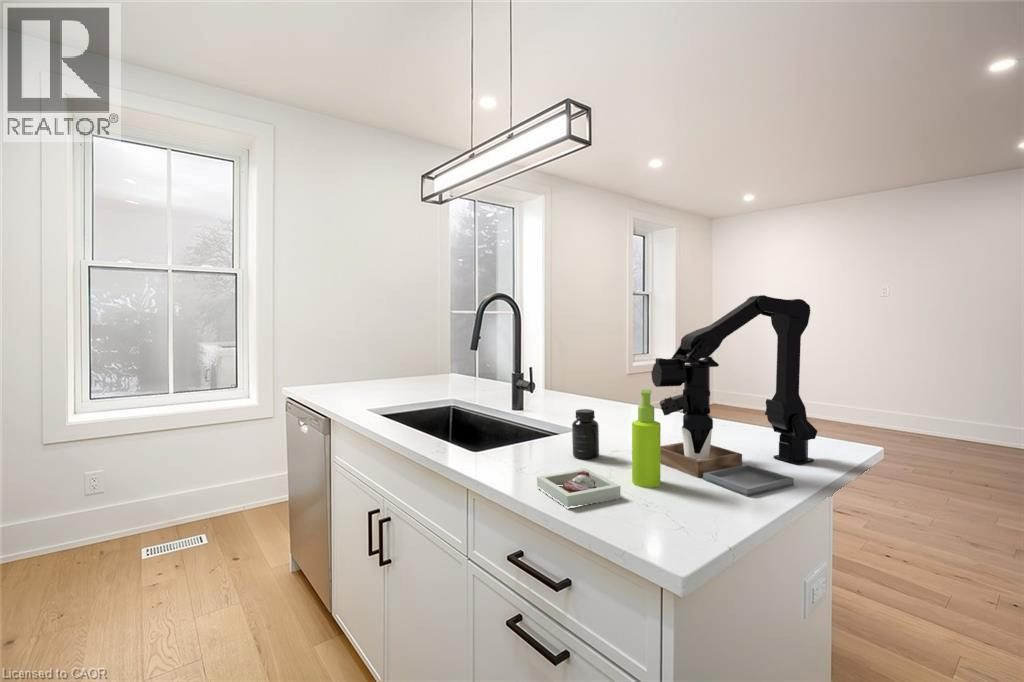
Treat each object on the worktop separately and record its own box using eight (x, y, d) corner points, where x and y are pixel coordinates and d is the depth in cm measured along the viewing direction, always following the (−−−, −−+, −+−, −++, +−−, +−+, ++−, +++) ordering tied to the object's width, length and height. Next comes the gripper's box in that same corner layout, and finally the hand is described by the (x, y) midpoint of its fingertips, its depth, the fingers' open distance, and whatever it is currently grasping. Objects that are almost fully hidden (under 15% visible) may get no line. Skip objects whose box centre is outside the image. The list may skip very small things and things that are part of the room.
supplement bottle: (580, 451, 125) (579, 407, 124) (603, 455, 121) (603, 409, 120) (567, 457, 119) (567, 411, 119) (591, 461, 115) (591, 414, 115)
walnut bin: (695, 453, 121) (695, 440, 121) (742, 468, 109) (742, 453, 109) (654, 460, 116) (654, 446, 115) (697, 477, 103) (698, 462, 103)
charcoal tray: (747, 470, 107) (747, 464, 107) (793, 485, 97) (793, 478, 97) (703, 479, 102) (703, 472, 101) (747, 496, 92) (747, 489, 91)
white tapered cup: (715, 460, 108) (715, 431, 108) (684, 459, 109) (684, 430, 109) (708, 452, 115) (708, 424, 114) (679, 451, 116) (679, 423, 116)
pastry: (604, 493, 95) (604, 469, 95) (594, 506, 88) (593, 480, 88) (567, 487, 98) (567, 464, 98) (554, 499, 92) (554, 474, 92)
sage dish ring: (585, 479, 103) (585, 468, 102) (620, 498, 91) (620, 485, 91) (537, 488, 97) (536, 476, 97) (567, 509, 86) (567, 496, 86)
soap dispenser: (660, 478, 103) (660, 388, 102) (660, 488, 96) (660, 393, 96) (633, 475, 105) (633, 387, 104) (631, 485, 98) (630, 392, 97)
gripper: (663, 379, 123) (663, 437, 124) (659, 390, 105) (660, 457, 106) (708, 381, 119) (708, 441, 120) (713, 391, 102) (712, 462, 102)
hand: (696, 449), depth 112 cm, fingers closed on white tapered cup, 6 cm apart
